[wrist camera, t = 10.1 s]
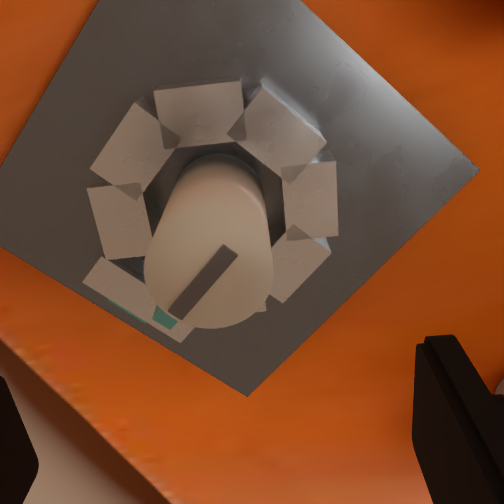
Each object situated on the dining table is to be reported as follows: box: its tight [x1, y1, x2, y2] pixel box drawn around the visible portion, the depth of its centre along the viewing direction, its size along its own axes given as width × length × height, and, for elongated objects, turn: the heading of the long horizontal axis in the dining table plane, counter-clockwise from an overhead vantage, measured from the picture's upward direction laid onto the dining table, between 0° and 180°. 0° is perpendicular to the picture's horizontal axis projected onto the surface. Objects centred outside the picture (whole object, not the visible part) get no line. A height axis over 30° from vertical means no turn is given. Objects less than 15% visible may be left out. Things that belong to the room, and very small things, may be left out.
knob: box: [144, 154, 274, 330], centre depth 20 cm, size 5×4×8 cm
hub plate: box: [0, 0, 480, 397], centre depth 23 cm, size 18×18×3 cm
